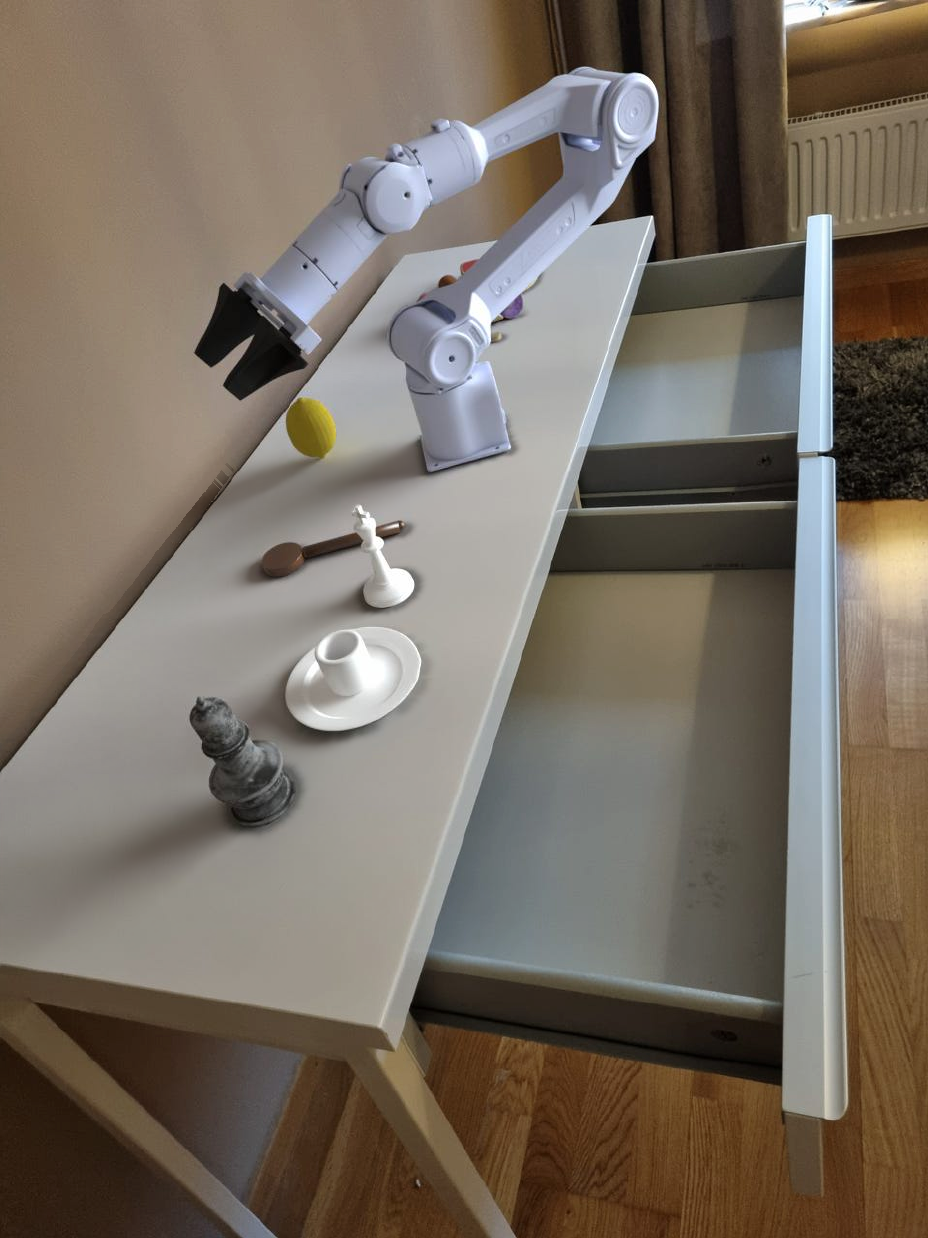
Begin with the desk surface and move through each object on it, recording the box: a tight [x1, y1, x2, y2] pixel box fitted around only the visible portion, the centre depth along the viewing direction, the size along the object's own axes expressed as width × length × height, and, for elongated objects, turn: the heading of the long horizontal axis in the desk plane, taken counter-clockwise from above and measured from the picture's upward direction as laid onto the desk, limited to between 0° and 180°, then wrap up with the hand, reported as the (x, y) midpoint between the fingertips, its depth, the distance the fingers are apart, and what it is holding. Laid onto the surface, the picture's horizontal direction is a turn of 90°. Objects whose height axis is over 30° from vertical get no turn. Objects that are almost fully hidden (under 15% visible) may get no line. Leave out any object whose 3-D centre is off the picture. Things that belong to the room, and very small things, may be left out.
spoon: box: [261, 519, 406, 578], centre depth 91 cm, size 15×4×1 cm, turn 98°
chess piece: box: [350, 504, 415, 609], centre depth 81 cm, size 5×5×10 cm
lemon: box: [285, 397, 337, 459], centre depth 103 cm, size 6×6×8 cm
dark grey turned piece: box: [188, 696, 296, 828], centre depth 65 cm, size 6×6×12 cm
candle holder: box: [284, 626, 422, 732], centre depth 75 cm, size 12×12×4 cm
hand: (216, 376), depth 83 cm, fingers open, 7 cm apart
